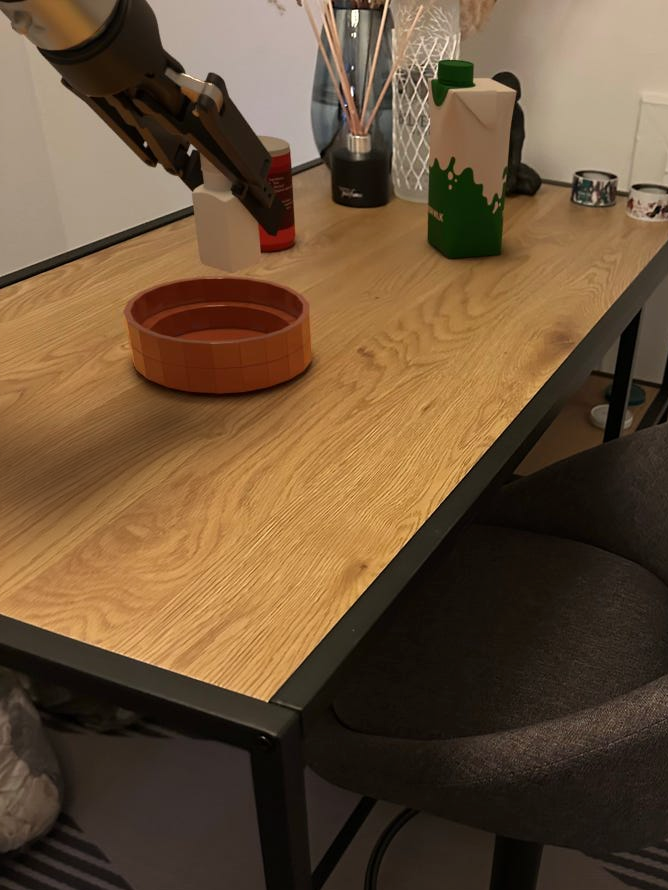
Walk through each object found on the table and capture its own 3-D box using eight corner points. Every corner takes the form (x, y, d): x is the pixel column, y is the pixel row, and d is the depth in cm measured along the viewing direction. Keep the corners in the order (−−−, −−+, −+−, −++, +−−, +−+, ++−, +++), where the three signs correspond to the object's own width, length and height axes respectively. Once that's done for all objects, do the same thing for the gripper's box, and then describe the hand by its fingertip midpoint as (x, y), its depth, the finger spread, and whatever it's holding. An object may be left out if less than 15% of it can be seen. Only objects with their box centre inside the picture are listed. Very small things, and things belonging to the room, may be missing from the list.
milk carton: (417, 239, 119) (421, 55, 106) (482, 234, 122) (493, 55, 109) (444, 262, 113) (451, 70, 100) (511, 256, 116) (527, 69, 103)
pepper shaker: (197, 265, 81) (182, 144, 75) (229, 254, 83) (217, 136, 77) (233, 276, 79) (220, 153, 73) (264, 264, 82) (254, 145, 76)
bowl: (94, 370, 84) (83, 316, 81) (209, 314, 96) (203, 264, 93) (243, 415, 80) (237, 359, 76) (344, 350, 91) (343, 298, 88)
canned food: (227, 233, 116) (216, 134, 109) (292, 231, 118) (286, 134, 111) (231, 253, 110) (220, 151, 103) (299, 251, 112) (293, 151, 105)
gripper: (-47, 40, 62) (159, 236, 84) (162, 76, 57) (323, 275, 79) (-5, -62, 62) (189, 161, 85) (206, -35, 57) (354, 194, 80)
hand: (253, 216), depth 82 cm, fingers closed on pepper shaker, 4 cm apart
